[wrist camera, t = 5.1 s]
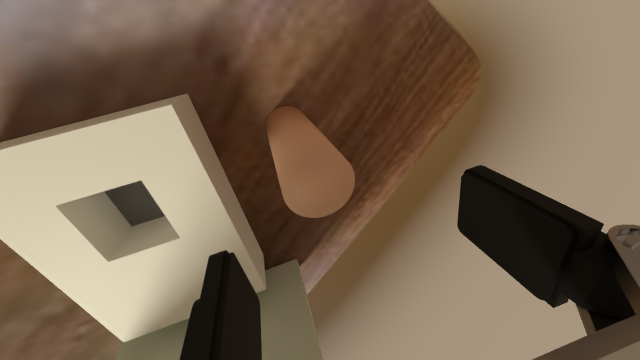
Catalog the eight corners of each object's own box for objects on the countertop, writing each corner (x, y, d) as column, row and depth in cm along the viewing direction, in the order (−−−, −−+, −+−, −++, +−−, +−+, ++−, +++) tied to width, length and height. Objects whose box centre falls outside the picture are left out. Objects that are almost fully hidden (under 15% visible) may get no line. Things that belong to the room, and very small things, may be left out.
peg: (259, 112, 22) (271, 165, 12) (302, 100, 23) (349, 141, 12) (273, 152, 24) (293, 227, 14) (311, 140, 25) (359, 204, 14)
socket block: (-3, 143, 18) (-81, 171, 14) (187, 93, 20) (171, 104, 16) (142, 297, 28) (123, 342, 23) (263, 254, 29) (266, 289, 25)
